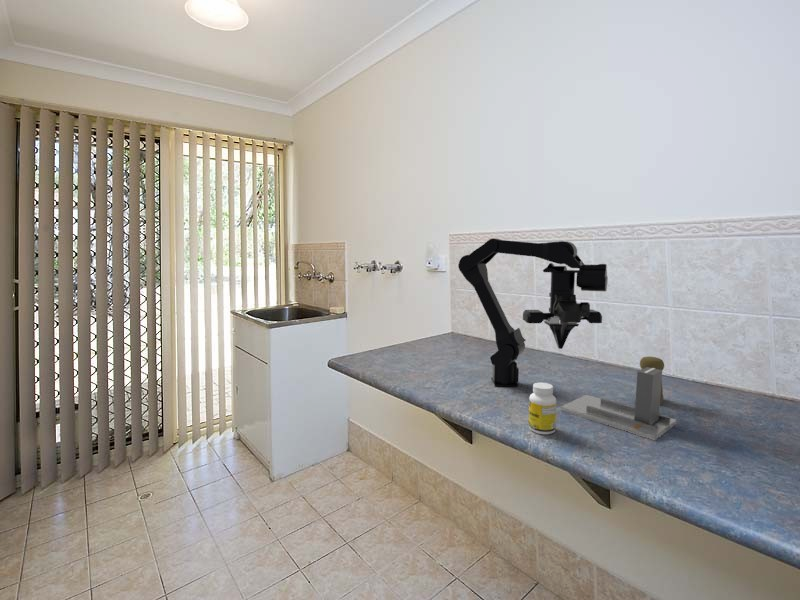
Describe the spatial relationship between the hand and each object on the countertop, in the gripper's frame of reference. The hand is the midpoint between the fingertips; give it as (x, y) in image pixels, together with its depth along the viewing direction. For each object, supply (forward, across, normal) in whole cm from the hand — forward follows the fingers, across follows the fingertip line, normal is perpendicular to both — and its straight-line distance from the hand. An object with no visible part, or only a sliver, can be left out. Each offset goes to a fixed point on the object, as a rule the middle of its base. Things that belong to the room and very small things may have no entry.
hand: (560, 348), depth 107 cm
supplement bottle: (+12, -11, -23) cm, 28 cm away
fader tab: (+11, +12, -21) cm, 26 cm away
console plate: (+12, +8, -16) cm, 21 cm away
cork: (+12, +21, -5) cm, 25 cm away
